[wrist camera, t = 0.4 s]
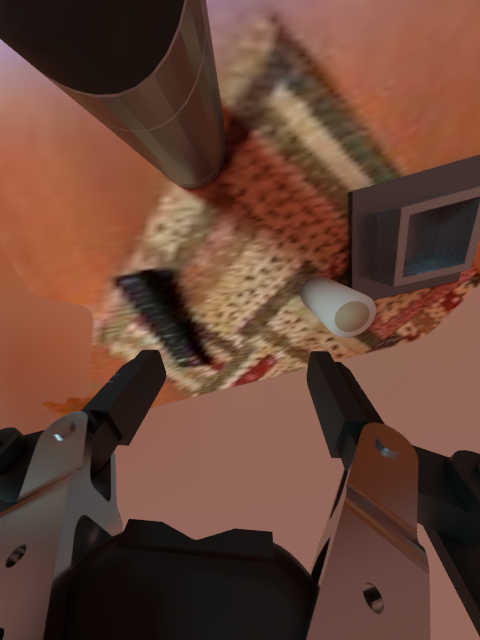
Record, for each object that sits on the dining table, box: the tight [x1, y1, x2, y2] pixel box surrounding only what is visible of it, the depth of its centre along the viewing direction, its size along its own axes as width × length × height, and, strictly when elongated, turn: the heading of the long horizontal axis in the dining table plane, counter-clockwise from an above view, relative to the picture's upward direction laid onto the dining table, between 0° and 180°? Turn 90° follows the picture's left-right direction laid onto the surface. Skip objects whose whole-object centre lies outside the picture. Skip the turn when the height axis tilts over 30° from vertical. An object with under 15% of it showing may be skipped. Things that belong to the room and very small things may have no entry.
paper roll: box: [301, 276, 376, 337], centre depth 25 cm, size 6×6×10 cm
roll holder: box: [348, 155, 480, 300], centre depth 24 cm, size 16×16×5 cm
